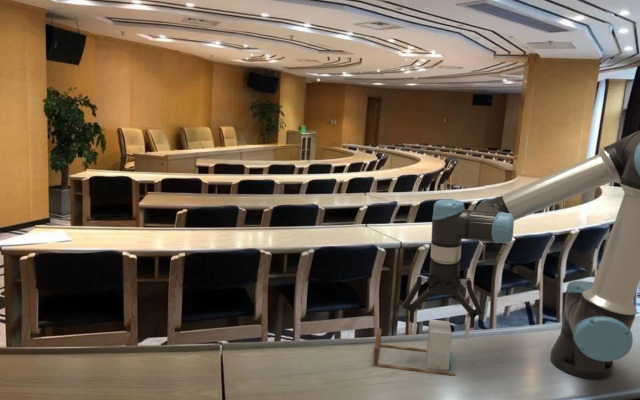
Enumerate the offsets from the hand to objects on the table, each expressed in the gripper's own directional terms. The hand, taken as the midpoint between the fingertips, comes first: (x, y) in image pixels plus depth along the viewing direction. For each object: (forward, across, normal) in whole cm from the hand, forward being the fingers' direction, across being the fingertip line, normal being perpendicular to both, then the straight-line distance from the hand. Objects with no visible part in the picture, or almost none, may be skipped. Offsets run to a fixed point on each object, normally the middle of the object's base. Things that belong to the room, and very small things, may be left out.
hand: (440, 336), depth 134 cm
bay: (+8, +7, 0) cm, 10 cm away
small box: (+8, 0, 0) cm, 8 cm away
